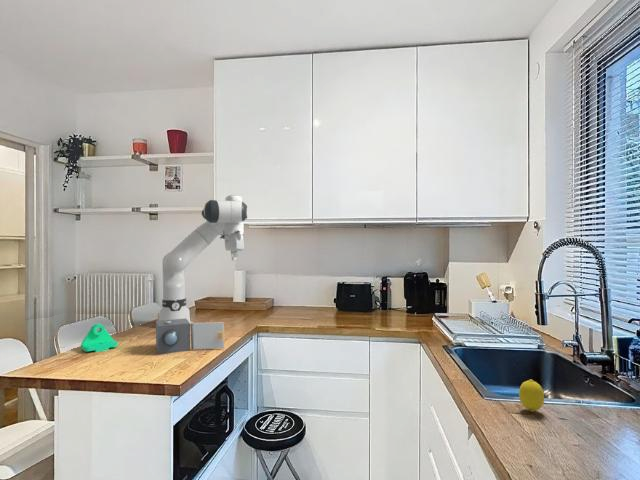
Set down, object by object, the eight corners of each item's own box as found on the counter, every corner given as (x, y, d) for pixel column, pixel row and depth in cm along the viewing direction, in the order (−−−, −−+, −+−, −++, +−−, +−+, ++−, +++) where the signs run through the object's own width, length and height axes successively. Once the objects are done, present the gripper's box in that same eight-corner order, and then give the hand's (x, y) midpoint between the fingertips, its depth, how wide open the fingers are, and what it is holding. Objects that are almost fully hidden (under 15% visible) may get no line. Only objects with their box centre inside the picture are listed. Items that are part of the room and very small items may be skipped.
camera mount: (85, 354, 157) (85, 328, 157) (80, 350, 162) (80, 325, 162) (118, 348, 165) (118, 323, 165) (112, 345, 171) (112, 321, 171)
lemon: (523, 415, 97) (523, 382, 97) (516, 406, 102) (515, 375, 102) (548, 417, 96) (547, 383, 96) (539, 407, 101) (538, 376, 101)
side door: (224, 347, 162) (223, 322, 162) (223, 348, 161) (223, 322, 161) (191, 348, 161) (191, 323, 161) (190, 349, 159) (190, 323, 160)
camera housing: (155, 347, 166) (155, 319, 166) (186, 343, 171) (185, 316, 171) (158, 355, 153) (158, 325, 153) (191, 351, 158) (190, 322, 158)
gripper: (247, 229, 177) (247, 261, 177) (235, 231, 195) (235, 259, 195) (232, 229, 174) (233, 261, 174) (222, 231, 192) (222, 260, 192)
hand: (234, 260), depth 184 cm, fingers closed
